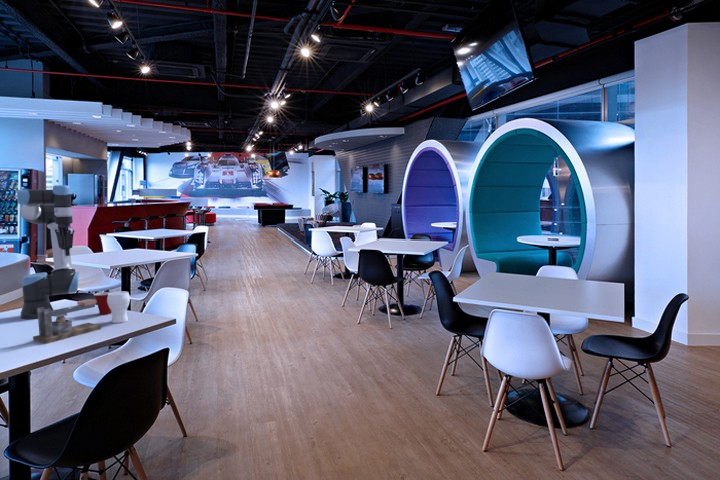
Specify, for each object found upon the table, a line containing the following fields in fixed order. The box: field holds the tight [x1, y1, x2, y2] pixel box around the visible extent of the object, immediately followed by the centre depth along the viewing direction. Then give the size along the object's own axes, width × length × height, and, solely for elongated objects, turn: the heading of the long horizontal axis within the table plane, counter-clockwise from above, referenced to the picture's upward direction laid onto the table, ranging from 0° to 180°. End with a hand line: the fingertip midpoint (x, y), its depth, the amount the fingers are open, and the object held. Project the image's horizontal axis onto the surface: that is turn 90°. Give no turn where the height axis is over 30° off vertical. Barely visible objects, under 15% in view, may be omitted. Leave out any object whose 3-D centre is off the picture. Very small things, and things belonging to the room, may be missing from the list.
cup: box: [107, 290, 131, 324], centre depth 249 cm, size 11×11×15 cm
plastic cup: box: [93, 291, 113, 316], centre depth 265 cm, size 11×11×12 cm
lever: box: [43, 298, 97, 318], centre depth 226 cm, size 23×6×5 cm, turn 152°
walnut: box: [55, 316, 67, 323], centre depth 222 cm, size 4×4×4 cm
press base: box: [32, 307, 102, 345], centre depth 225 cm, size 26×10×15 cm, turn 152°
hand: (66, 262), depth 241 cm, fingers closed
